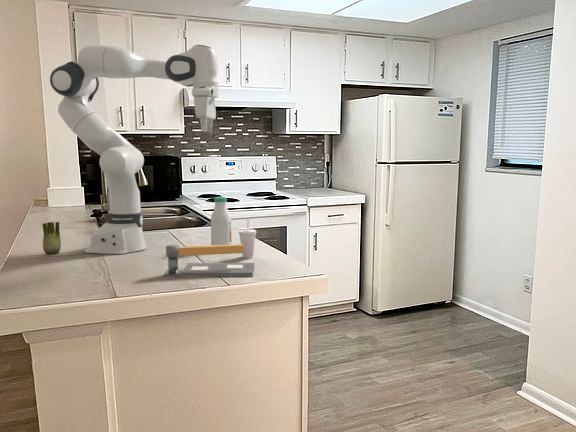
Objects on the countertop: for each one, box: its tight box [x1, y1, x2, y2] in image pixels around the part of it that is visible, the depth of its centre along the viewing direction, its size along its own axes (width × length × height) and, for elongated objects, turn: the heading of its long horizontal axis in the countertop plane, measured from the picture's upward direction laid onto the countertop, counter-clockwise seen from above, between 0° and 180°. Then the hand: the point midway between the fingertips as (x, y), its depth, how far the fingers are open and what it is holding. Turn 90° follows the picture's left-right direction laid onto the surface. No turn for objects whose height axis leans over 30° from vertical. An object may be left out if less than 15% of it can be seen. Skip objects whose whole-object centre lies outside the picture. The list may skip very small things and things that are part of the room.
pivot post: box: [163, 257, 184, 277], centre depth 159 cm, size 5×5×6 cm
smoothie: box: [238, 218, 257, 260], centre depth 180 cm, size 6×6×14 cm
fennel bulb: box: [41, 221, 62, 255], centre depth 185 cm, size 6×5×12 cm
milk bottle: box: [210, 196, 232, 245], centre depth 193 cm, size 8×8×20 cm
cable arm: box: [165, 243, 243, 258], centre depth 160 cm, size 24×4×3 cm, turn 101°
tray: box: [180, 262, 255, 278], centre depth 162 cm, size 22×12×2 cm, turn 91°
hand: (206, 131), depth 183 cm, fingers open, 8 cm apart
